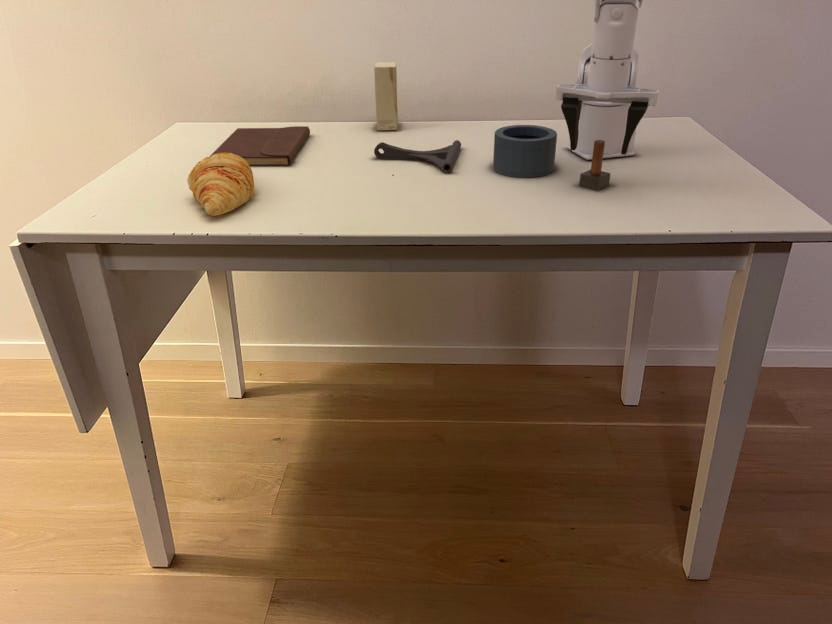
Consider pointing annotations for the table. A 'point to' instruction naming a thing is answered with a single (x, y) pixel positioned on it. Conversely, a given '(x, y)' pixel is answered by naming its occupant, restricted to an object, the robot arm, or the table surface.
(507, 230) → the table surface
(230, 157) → the croissant
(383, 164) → the table surface
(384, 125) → the cosmetic box
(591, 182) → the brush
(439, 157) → the bracket
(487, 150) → the table surface
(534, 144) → the jar
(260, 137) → the notebook
